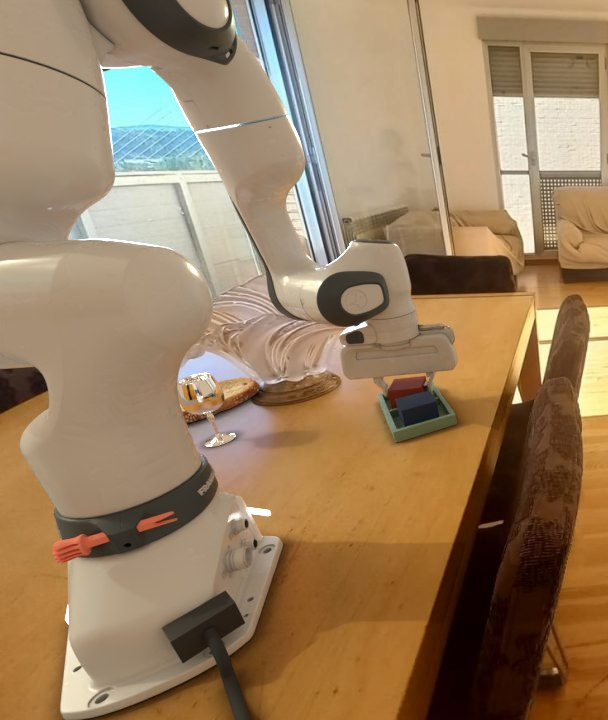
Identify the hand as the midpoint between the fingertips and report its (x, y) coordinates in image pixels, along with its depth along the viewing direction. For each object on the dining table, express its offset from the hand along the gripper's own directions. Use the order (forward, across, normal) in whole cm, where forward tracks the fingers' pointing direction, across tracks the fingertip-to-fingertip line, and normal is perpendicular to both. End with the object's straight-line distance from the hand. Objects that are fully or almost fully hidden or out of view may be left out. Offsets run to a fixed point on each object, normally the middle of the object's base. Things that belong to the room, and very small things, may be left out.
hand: (409, 393), depth 93 cm
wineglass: (+3, +31, +6) cm, 32 cm away
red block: (+2, 0, 0) cm, 2 cm away
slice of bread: (+3, +43, -9) cm, 44 cm away
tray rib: (+3, -2, +4) cm, 5 cm away
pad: (+2, -3, +8) cm, 8 cm away
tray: (+3, -2, +4) cm, 5 cm away
